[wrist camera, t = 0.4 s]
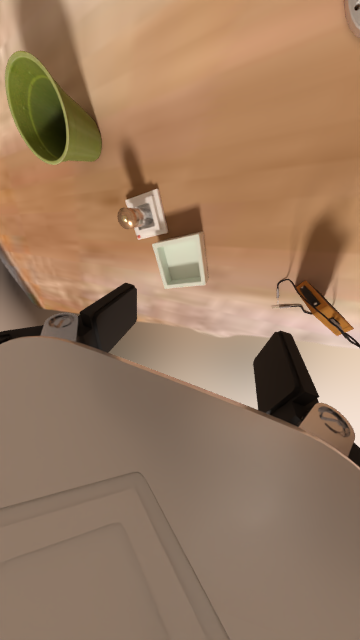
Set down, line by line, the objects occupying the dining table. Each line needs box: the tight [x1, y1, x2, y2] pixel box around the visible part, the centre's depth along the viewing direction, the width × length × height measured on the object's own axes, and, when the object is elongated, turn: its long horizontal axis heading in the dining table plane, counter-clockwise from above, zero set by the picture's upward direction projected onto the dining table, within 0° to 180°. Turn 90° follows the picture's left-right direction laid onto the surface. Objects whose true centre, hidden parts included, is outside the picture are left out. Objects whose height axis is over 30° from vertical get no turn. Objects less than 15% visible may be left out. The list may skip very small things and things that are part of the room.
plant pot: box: [5, 51, 102, 165], centre depth 30 cm, size 12×12×11 cm
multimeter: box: [272, 279, 360, 348], centre depth 33 cm, size 15×10×20 cm
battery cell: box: [118, 208, 153, 229], centre depth 35 cm, size 4×4×10 cm
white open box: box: [152, 231, 208, 289], centre depth 42 cm, size 12×12×5 cm
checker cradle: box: [125, 189, 168, 240], centre depth 39 cm, size 9×9×2 cm
